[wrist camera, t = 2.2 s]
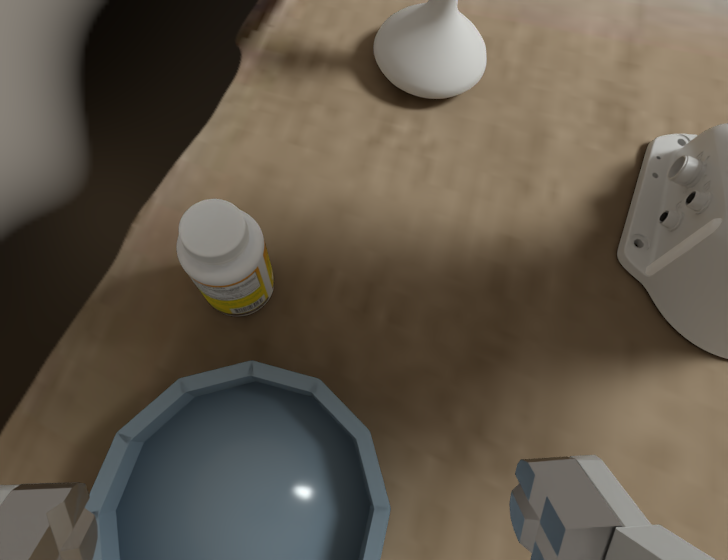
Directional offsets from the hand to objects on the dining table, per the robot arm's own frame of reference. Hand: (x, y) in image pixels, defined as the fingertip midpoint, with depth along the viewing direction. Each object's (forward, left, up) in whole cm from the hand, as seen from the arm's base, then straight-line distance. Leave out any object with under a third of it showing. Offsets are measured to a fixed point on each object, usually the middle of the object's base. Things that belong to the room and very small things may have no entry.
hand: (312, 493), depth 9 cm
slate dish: (+4, -4, -26) cm, 26 cm away
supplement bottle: (-11, -10, -26) cm, 30 cm away
